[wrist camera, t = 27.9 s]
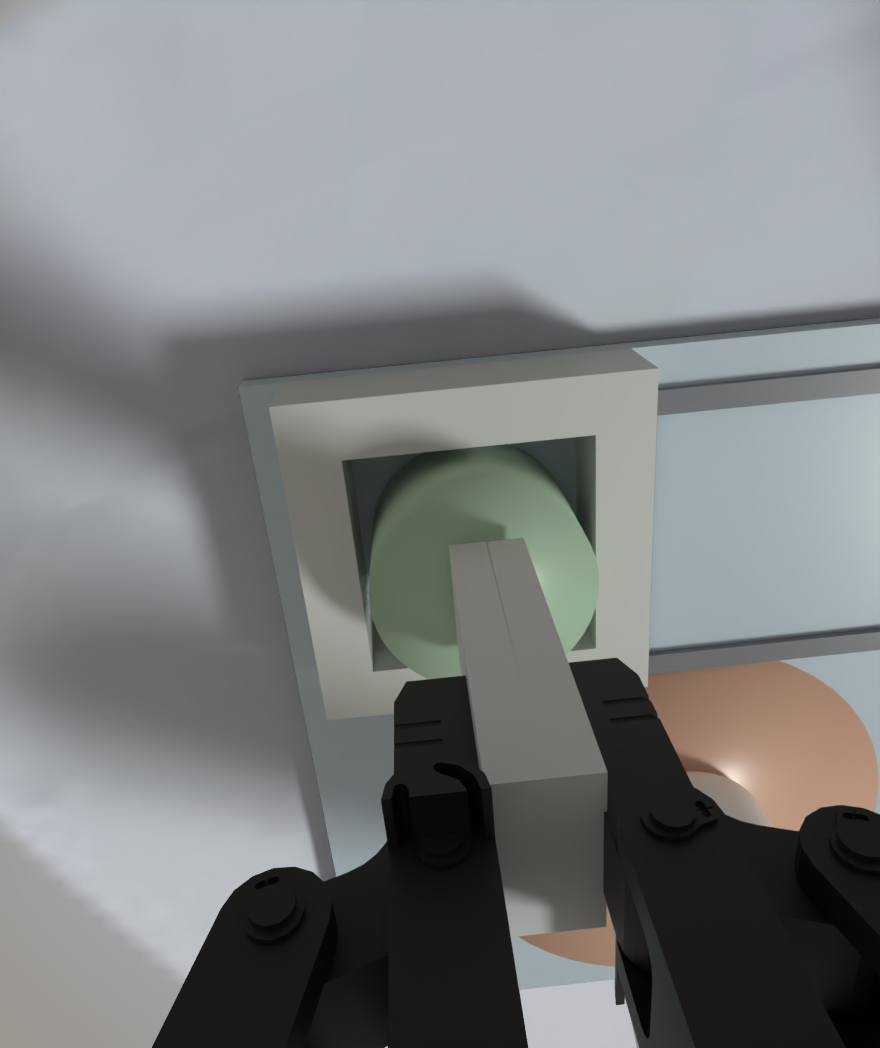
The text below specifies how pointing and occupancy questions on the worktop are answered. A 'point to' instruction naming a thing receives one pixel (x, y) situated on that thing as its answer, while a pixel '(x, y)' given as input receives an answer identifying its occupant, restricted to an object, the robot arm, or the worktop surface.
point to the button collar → (455, 423)
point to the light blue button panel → (684, 586)
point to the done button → (468, 517)
